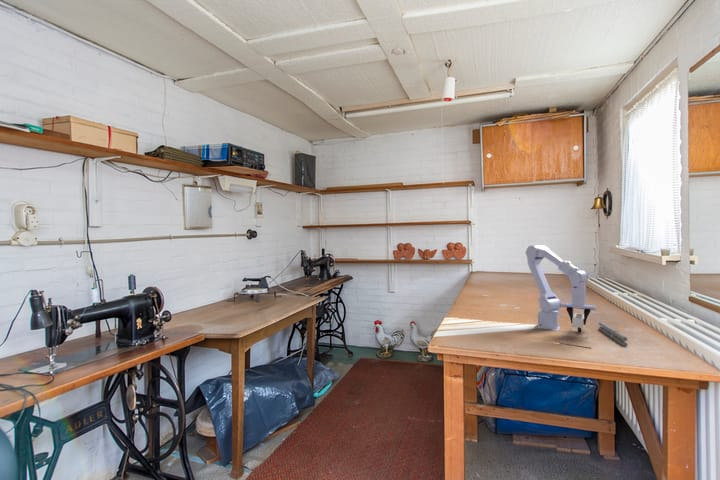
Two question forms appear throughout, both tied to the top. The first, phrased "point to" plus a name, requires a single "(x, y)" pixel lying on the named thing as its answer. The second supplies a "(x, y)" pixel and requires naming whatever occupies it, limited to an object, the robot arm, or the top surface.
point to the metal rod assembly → (613, 334)
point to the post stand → (579, 333)
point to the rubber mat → (575, 345)
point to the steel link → (578, 320)
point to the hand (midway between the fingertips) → (578, 323)
